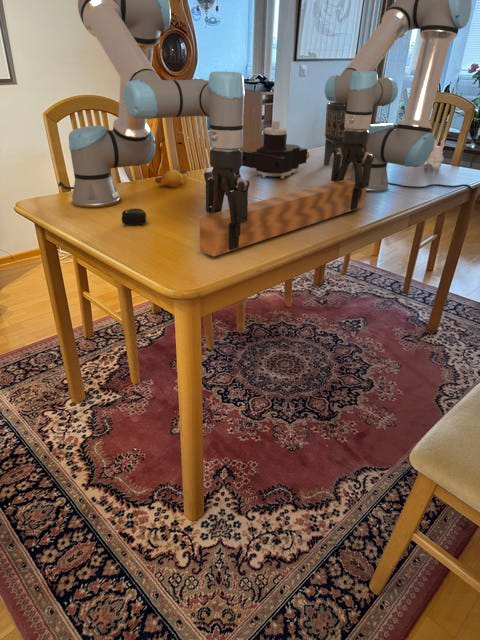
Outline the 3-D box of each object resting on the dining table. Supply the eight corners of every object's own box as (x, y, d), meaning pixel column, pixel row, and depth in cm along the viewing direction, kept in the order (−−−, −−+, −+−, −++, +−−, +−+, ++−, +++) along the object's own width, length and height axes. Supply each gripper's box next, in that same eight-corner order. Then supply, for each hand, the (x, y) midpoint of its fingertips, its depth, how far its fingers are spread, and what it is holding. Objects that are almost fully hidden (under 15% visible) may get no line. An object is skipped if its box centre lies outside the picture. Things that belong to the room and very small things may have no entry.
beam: (350, 203, 153) (353, 177, 148) (363, 206, 149) (367, 179, 145) (200, 250, 113) (199, 216, 109) (213, 256, 110) (213, 221, 106)
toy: (151, 179, 167) (162, 169, 180) (158, 195, 170) (169, 185, 183) (178, 169, 164) (188, 160, 177) (185, 186, 167) (194, 176, 180)
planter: (313, 167, 208) (319, 103, 195) (331, 160, 222) (338, 101, 209) (353, 173, 199) (362, 107, 185) (369, 166, 213) (379, 104, 199)
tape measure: (122, 227, 131) (120, 215, 129) (123, 220, 136) (122, 208, 135) (146, 227, 132) (145, 214, 130) (147, 219, 137) (145, 207, 136)
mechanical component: (240, 120, 182) (283, 115, 202) (239, 174, 192) (280, 164, 212) (283, 126, 170) (325, 120, 190) (280, 183, 180) (320, 171, 200)
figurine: (444, 167, 214) (450, 138, 207) (436, 172, 203) (443, 142, 197) (426, 165, 218) (432, 136, 211) (417, 170, 207) (424, 140, 200)
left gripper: (188, 144, 107) (191, 238, 118) (242, 156, 95) (239, 259, 107) (212, 141, 111) (213, 232, 123) (266, 152, 100) (261, 251, 112)
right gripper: (324, 127, 138) (316, 202, 150) (376, 134, 127) (363, 215, 139) (338, 125, 143) (330, 198, 155) (390, 132, 132) (376, 210, 143)
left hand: (225, 244), depth 115 cm, fingers closed on beam, 5 cm apart
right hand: (345, 206), depth 147 cm, fingers closed on beam, 5 cm apart
